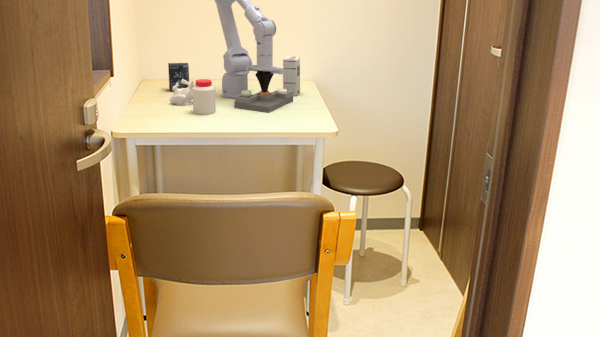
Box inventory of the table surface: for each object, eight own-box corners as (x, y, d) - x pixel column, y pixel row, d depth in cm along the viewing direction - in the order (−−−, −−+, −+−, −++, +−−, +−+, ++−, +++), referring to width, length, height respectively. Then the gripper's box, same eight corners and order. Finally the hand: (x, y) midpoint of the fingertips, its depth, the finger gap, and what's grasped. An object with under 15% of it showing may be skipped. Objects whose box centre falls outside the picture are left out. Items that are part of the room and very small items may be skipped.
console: (234, 107, 216) (234, 97, 215) (260, 96, 234) (260, 86, 232) (269, 112, 211) (269, 101, 210) (293, 100, 228) (293, 90, 227)
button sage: (239, 97, 216) (239, 91, 215) (244, 95, 219) (244, 89, 219) (248, 98, 215) (248, 92, 214) (253, 96, 218) (253, 90, 217)
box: (169, 92, 238) (168, 65, 234) (169, 89, 243) (167, 62, 239) (189, 91, 240) (188, 65, 236) (189, 88, 245) (187, 62, 241)
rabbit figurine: (202, 101, 225) (201, 75, 221) (203, 106, 218) (202, 79, 215) (169, 102, 223) (168, 76, 219) (169, 107, 216) (168, 80, 212)
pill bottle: (197, 115, 205) (196, 83, 202) (190, 110, 212) (189, 79, 208) (218, 113, 209) (218, 82, 205) (211, 108, 215) (210, 77, 212)
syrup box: (297, 96, 236) (297, 59, 231) (282, 95, 237) (282, 58, 232) (299, 93, 241) (300, 56, 236) (285, 92, 242) (286, 55, 237)
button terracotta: (257, 97, 221) (257, 92, 220) (262, 95, 224) (262, 90, 223) (266, 98, 219) (266, 93, 219) (271, 96, 222) (271, 91, 222)
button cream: (275, 95, 225) (275, 90, 224) (279, 93, 228) (279, 88, 227) (284, 96, 223) (284, 91, 223) (288, 94, 226) (288, 89, 226)
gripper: (241, 54, 215) (241, 91, 220) (277, 58, 210) (277, 96, 215) (250, 51, 222) (251, 88, 226) (286, 55, 216) (286, 92, 221)
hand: (264, 91), depth 221 cm, fingers closed, pressing on button terracotta
